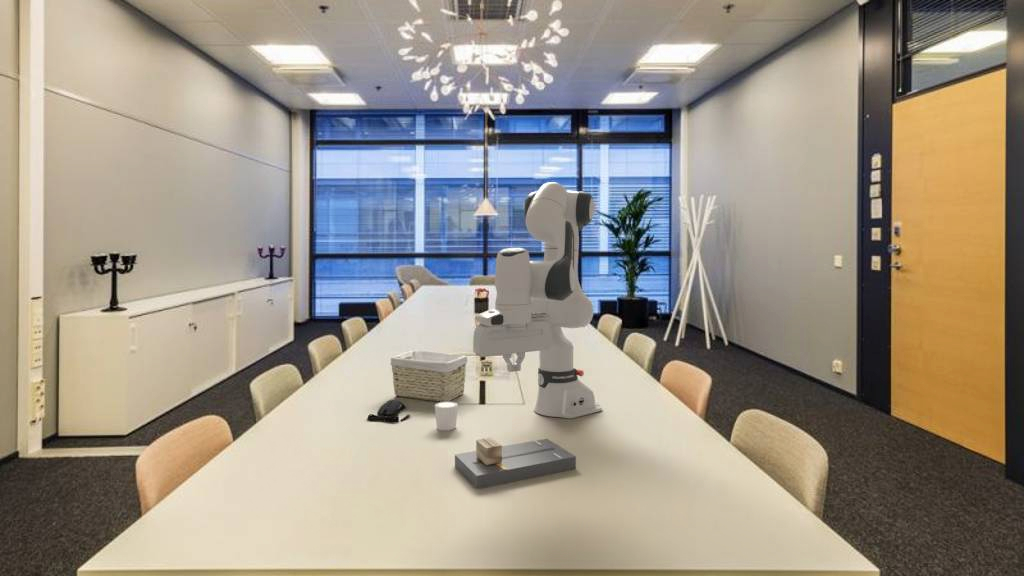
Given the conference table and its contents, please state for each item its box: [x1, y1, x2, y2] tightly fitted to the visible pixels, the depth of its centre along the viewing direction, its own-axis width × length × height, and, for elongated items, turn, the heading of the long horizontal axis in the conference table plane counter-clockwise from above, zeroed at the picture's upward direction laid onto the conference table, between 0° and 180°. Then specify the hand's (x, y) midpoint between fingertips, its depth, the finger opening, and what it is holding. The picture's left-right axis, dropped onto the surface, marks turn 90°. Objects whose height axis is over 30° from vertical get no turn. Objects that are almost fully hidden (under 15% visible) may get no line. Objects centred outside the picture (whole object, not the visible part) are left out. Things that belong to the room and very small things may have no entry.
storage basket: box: [390, 349, 468, 403], centre depth 200 cm, size 24×16×15 cm
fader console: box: [454, 438, 577, 490], centre depth 135 cm, size 26×14×3 cm, turn 116°
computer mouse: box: [366, 399, 412, 424], centre depth 177 cm, size 12×18×4 cm
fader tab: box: [475, 437, 503, 465], centre depth 131 cm, size 4×6×4 cm, turn 26°
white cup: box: [434, 401, 459, 431], centre depth 164 cm, size 7×7×7 cm
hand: (514, 370), depth 135 cm, fingers closed
